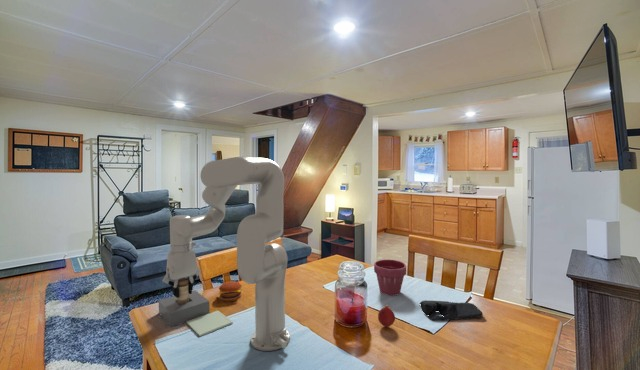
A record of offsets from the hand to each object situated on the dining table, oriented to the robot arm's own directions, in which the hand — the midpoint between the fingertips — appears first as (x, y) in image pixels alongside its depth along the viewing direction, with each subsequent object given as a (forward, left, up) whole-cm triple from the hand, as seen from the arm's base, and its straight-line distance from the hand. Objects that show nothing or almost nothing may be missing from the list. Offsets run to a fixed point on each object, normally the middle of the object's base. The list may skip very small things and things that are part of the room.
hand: (183, 294), depth 114 cm
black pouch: (-71, -76, -8) cm, 104 cm away
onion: (-60, -48, -8) cm, 77 cm away
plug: (0, 0, -6) cm, 6 cm away
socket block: (0, 0, -8) cm, 8 cm away
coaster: (-14, -4, -8) cm, 16 cm away
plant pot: (-44, -75, -8) cm, 87 cm away
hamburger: (+1, -20, -8) cm, 22 cm away
